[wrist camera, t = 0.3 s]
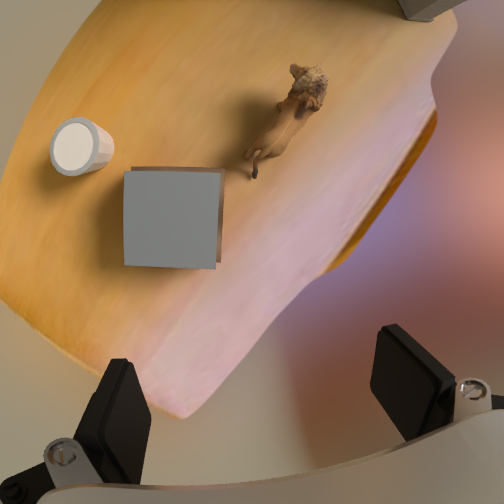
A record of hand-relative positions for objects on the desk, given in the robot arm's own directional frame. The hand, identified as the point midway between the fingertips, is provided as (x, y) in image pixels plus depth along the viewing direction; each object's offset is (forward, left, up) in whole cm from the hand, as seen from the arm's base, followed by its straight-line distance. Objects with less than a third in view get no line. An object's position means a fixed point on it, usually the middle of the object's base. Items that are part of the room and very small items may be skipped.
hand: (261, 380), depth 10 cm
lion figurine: (-14, +6, -30) cm, 34 cm away
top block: (-2, -6, -26) cm, 27 cm away
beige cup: (-10, -18, -30) cm, 37 cm away
